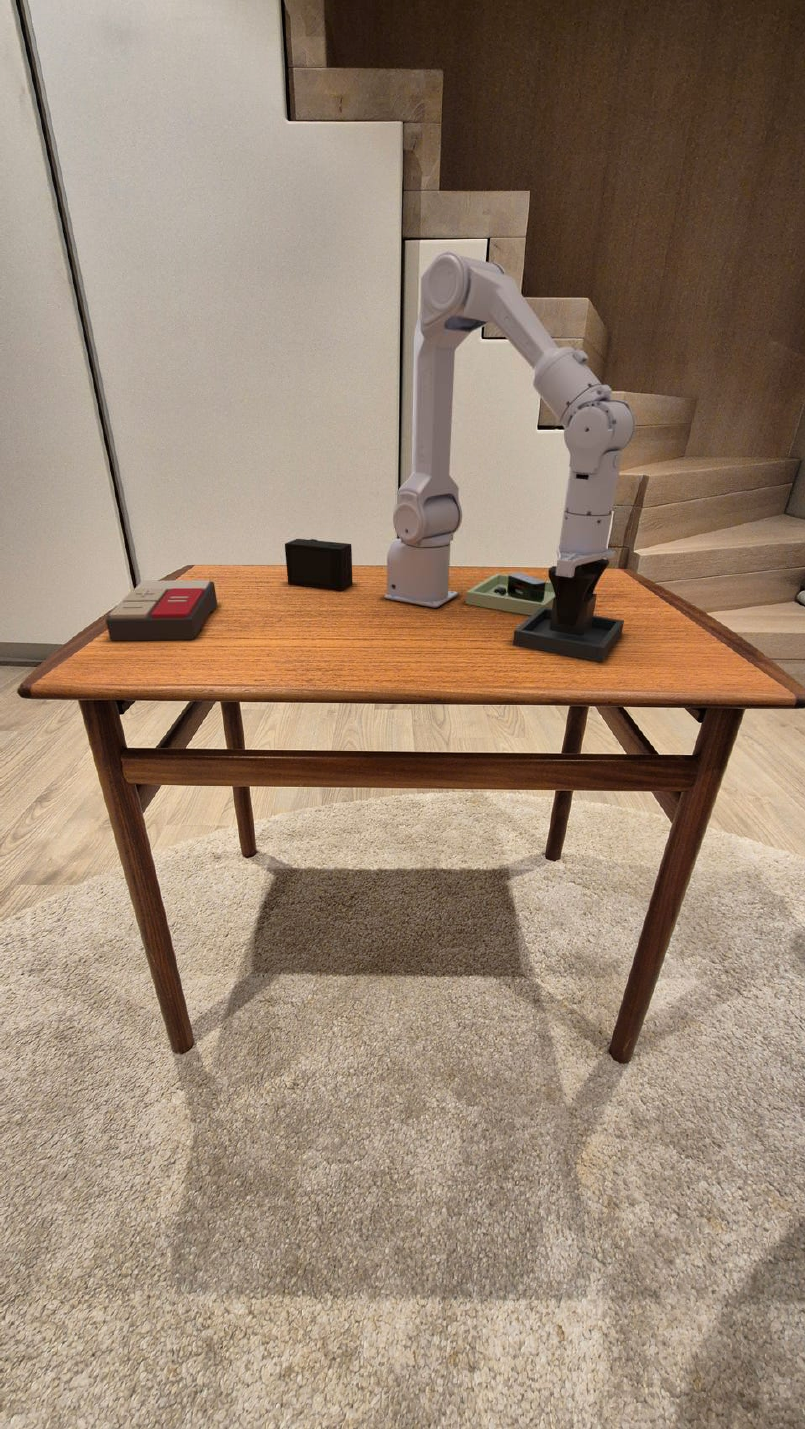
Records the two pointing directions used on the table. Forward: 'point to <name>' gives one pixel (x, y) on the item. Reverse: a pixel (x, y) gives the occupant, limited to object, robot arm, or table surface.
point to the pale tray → (506, 597)
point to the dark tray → (569, 637)
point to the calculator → (163, 610)
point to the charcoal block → (582, 621)
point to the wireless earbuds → (524, 587)
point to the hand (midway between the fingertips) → (571, 618)
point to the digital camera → (319, 564)
